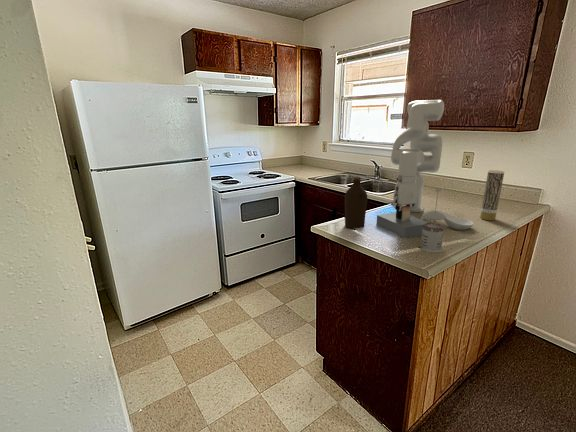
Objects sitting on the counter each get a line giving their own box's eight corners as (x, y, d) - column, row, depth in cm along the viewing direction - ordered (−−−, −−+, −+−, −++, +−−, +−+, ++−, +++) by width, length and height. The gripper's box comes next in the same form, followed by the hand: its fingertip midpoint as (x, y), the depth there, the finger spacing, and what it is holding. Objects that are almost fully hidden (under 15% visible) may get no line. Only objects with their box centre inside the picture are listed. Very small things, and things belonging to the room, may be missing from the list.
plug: (395, 227, 148) (397, 205, 145) (402, 226, 149) (404, 204, 146) (401, 230, 144) (403, 207, 141) (408, 229, 146) (410, 206, 142)
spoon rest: (472, 226, 152) (474, 212, 150) (472, 234, 143) (475, 219, 140) (420, 219, 163) (422, 206, 161) (417, 226, 154) (419, 212, 152)
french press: (418, 250, 125) (425, 190, 118) (417, 240, 135) (424, 184, 128) (445, 253, 122) (454, 191, 114) (442, 243, 132) (450, 185, 125)
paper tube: (482, 216, 167) (490, 169, 159) (496, 218, 162) (505, 171, 155) (478, 219, 162) (486, 171, 155) (493, 221, 158) (502, 172, 150)
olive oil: (369, 226, 154) (373, 176, 146) (357, 232, 147) (360, 179, 139) (351, 222, 161) (354, 174, 154) (339, 226, 154) (341, 177, 147)
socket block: (376, 226, 154) (377, 215, 152) (399, 222, 158) (400, 211, 157) (404, 240, 136) (405, 227, 134) (429, 235, 140) (430, 223, 139)
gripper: (396, 182, 134) (393, 222, 139) (427, 179, 139) (422, 217, 145) (385, 179, 140) (382, 217, 146) (415, 176, 146) (411, 213, 151)
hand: (402, 217), depth 145 cm, fingers closed on plug, 4 cm apart
